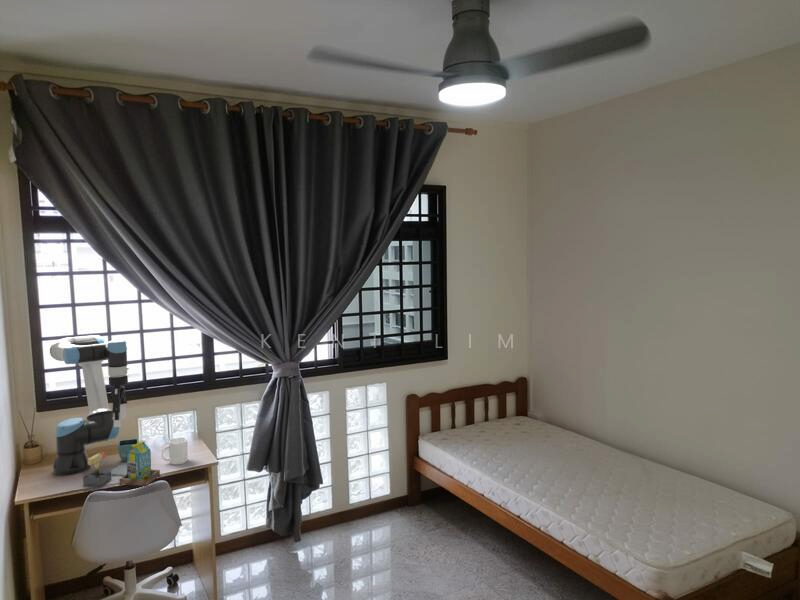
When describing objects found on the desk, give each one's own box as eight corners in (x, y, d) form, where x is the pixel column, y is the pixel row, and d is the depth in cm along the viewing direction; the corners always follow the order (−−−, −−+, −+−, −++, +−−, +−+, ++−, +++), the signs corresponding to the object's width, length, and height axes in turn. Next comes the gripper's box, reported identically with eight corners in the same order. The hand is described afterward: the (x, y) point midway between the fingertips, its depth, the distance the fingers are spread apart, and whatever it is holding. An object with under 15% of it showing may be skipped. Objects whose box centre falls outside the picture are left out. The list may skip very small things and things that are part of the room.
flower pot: (138, 455, 281) (138, 438, 281) (138, 461, 273) (138, 443, 273) (119, 457, 278) (118, 440, 277) (118, 464, 270) (118, 446, 269)
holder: (119, 484, 247) (119, 478, 247) (133, 473, 259) (133, 468, 258) (146, 485, 246) (146, 480, 246) (159, 475, 258) (159, 469, 257)
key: (92, 477, 244) (91, 459, 243) (88, 477, 244) (87, 458, 243) (105, 469, 253) (105, 451, 252) (101, 469, 253) (101, 451, 252)
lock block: (83, 485, 245) (82, 477, 245) (94, 478, 253) (94, 469, 253) (100, 486, 244) (100, 477, 244) (111, 479, 252) (111, 470, 252)
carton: (140, 484, 248) (138, 445, 246) (126, 481, 250) (125, 442, 249) (153, 477, 254) (151, 439, 253) (139, 475, 257) (138, 437, 256)
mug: (159, 462, 273) (159, 441, 272) (185, 457, 280) (184, 436, 279) (163, 468, 266) (163, 446, 265) (189, 462, 273) (189, 441, 272)
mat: (106, 475, 257) (105, 473, 257) (123, 463, 271) (123, 462, 271) (135, 476, 256) (135, 475, 256) (150, 464, 270) (150, 463, 270)
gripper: (123, 380, 235) (125, 429, 237) (131, 369, 259) (133, 414, 260) (103, 382, 233) (105, 431, 235) (113, 370, 257) (115, 415, 258)
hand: (120, 422), depth 247 cm, fingers open, 13 cm apart
